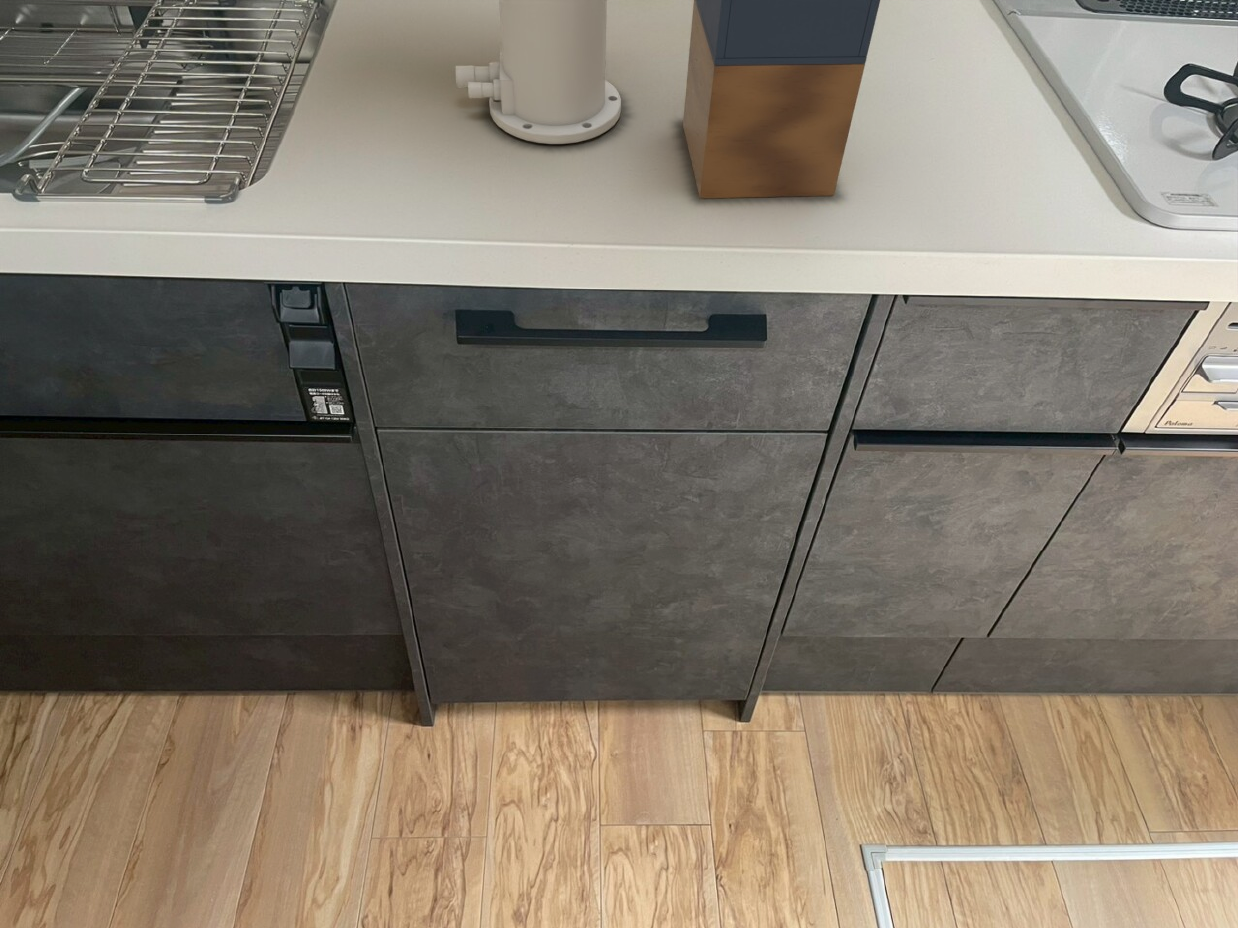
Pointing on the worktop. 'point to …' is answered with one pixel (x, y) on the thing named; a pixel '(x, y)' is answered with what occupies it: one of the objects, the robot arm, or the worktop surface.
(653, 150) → the worktop surface
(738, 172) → the stand
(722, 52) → the slate grey square cap
